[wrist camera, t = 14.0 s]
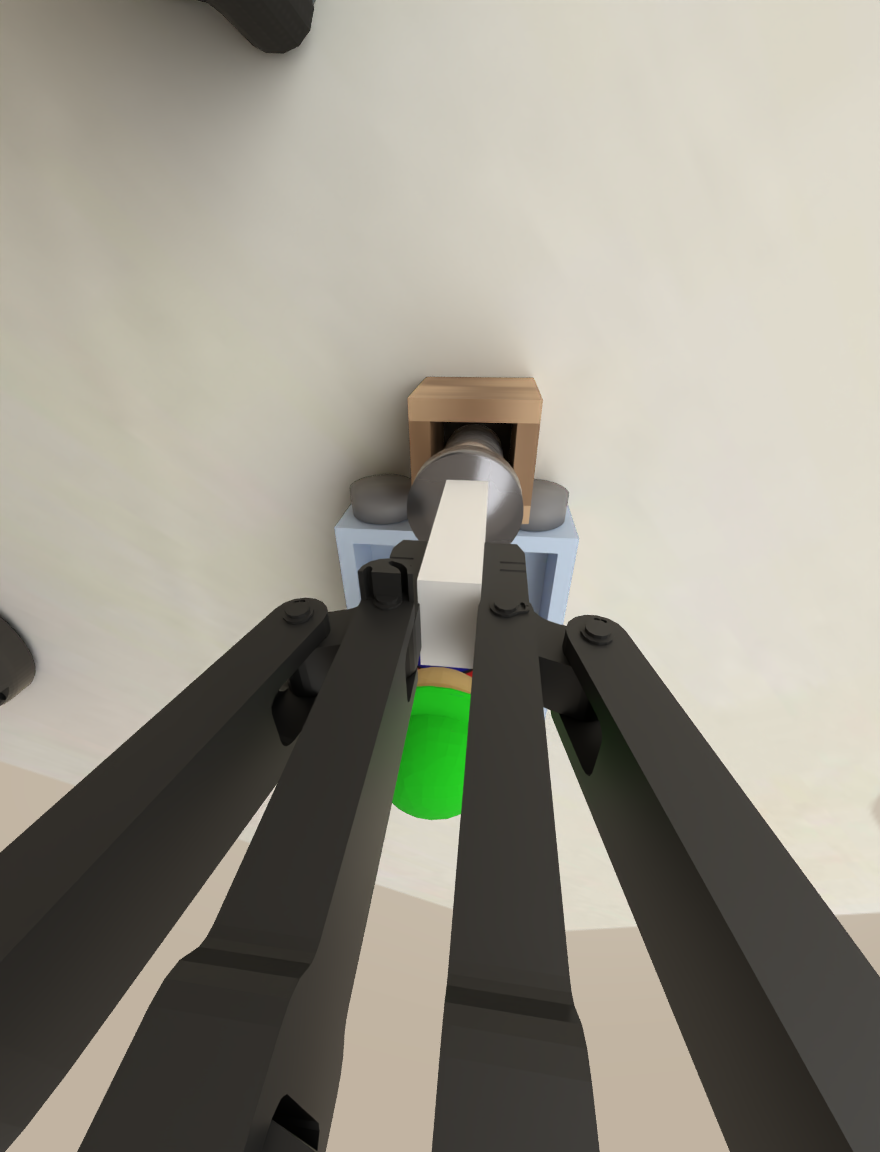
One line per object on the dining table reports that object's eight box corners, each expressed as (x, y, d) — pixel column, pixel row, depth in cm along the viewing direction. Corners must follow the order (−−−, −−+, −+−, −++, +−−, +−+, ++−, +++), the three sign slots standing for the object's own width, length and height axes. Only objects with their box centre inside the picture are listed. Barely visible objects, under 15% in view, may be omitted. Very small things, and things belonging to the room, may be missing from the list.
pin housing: (428, 478, 28) (413, 519, 23) (426, 376, 24) (407, 398, 20) (523, 481, 27) (528, 523, 22) (533, 377, 24) (542, 400, 19)
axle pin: (432, 492, 24) (409, 559, 18) (430, 408, 21) (403, 453, 15) (513, 495, 23) (518, 565, 17) (521, 410, 21) (529, 456, 15)
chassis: (379, 690, 39) (366, 732, 36) (352, 473, 28) (330, 500, 24) (535, 703, 38) (539, 748, 34) (572, 480, 27) (584, 510, 23)
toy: (528, 664, 34) (545, 877, 22) (424, 676, 36) (384, 877, 24) (498, 533, 28) (497, 722, 16) (375, 557, 30) (288, 740, 18)
